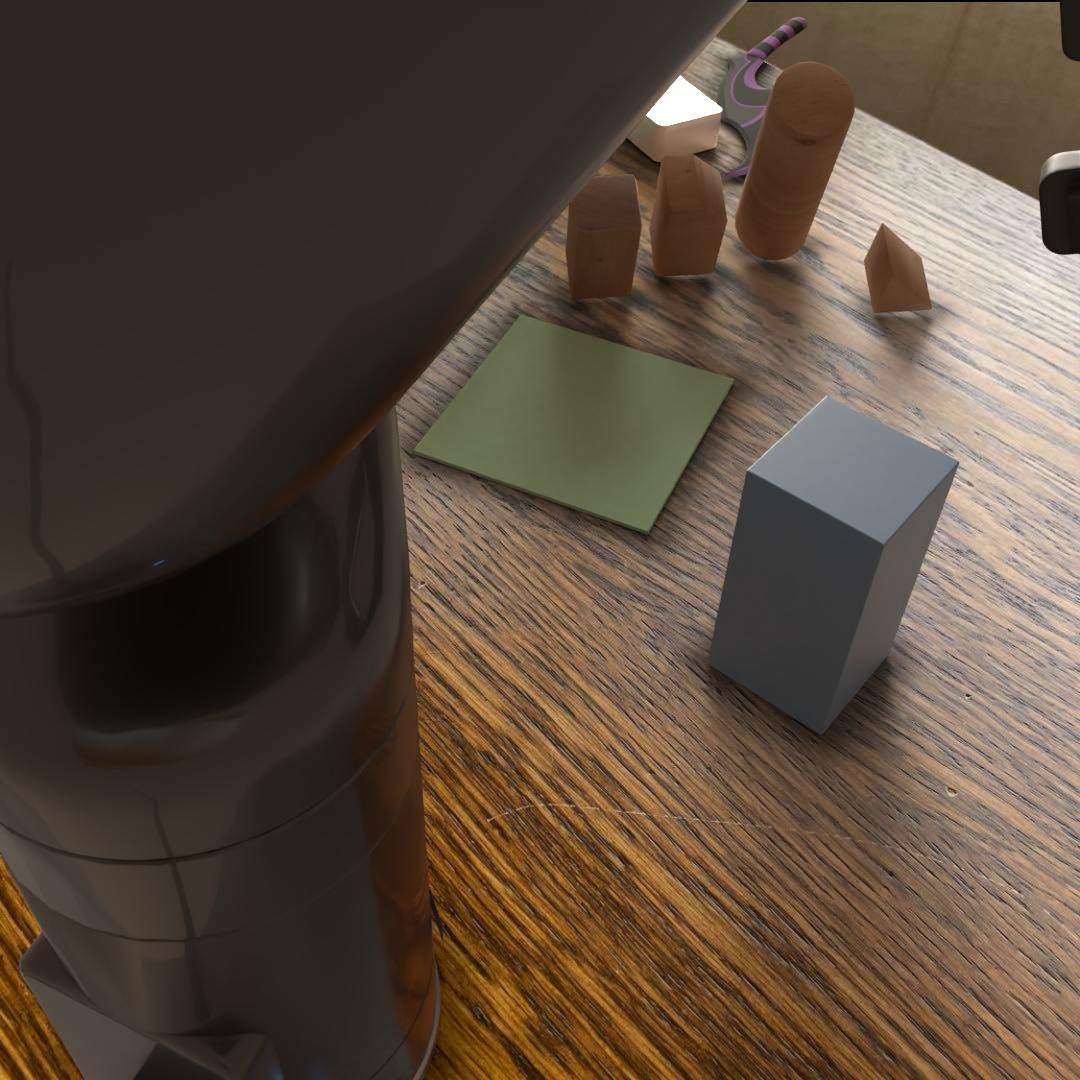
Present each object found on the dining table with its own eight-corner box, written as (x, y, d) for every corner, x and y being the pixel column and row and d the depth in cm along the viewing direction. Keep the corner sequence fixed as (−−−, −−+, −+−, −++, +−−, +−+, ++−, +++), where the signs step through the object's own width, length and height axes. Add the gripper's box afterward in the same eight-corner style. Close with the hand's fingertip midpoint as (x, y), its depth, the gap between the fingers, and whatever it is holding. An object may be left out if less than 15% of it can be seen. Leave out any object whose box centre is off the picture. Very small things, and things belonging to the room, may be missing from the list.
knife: (807, 27, 85) (732, 23, 86) (808, 15, 85) (733, 11, 85) (790, 188, 71) (701, 181, 72) (792, 175, 71) (702, 168, 71)
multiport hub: (725, 110, 72) (719, 147, 74) (622, 32, 79) (619, 68, 80) (661, 127, 71) (656, 164, 72) (561, 46, 77) (559, 82, 79)
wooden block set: (571, 349, 64) (582, 233, 55) (557, 204, 67) (565, 70, 57) (921, 327, 65) (992, 210, 55) (891, 185, 68) (954, 50, 58)
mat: (647, 534, 52) (648, 531, 52) (412, 453, 55) (412, 450, 55) (733, 382, 59) (734, 379, 59) (520, 317, 62) (520, 314, 62)
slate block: (889, 653, 48) (960, 461, 41) (821, 736, 46) (884, 545, 38) (778, 588, 50) (826, 394, 43) (706, 663, 48) (746, 470, 40)
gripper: (1928, -373, 25) (1057, -173, 33) (2322, -48, 17) (1020, 126, 24) (1802, -12, 30) (1071, 92, 38) (2056, 381, 22) (1044, 419, 29)
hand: (1052, 105), depth 31 cm, fingers open, 8 cm apart
